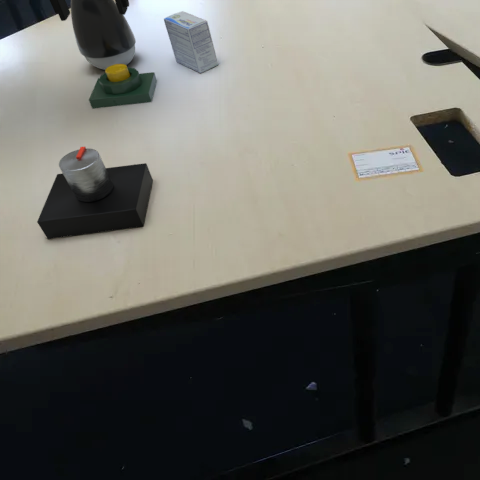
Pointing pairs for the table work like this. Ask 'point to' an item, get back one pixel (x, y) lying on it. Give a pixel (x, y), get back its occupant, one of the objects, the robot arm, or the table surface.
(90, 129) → the table surface
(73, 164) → the knob
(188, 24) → the medicine box
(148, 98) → the button housing
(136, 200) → the dial panel
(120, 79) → the yellow push button
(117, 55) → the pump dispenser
